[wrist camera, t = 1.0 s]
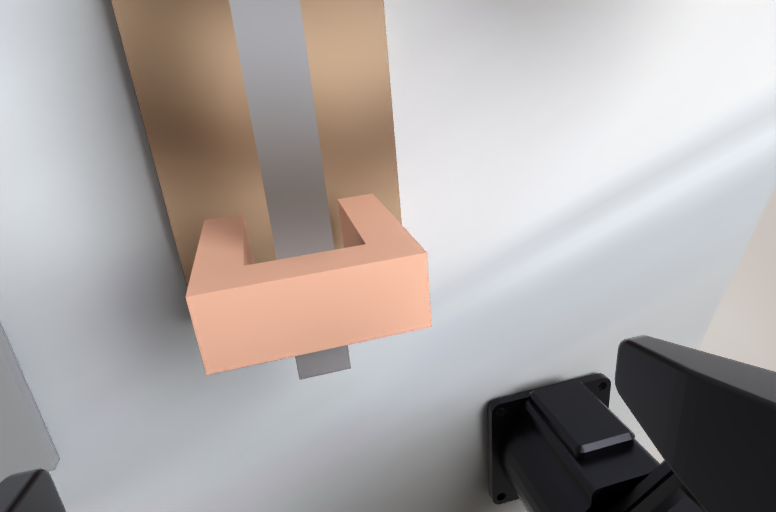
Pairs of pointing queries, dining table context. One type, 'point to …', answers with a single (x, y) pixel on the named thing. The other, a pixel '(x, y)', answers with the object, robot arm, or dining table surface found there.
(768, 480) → the robot arm
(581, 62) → the dining table surface
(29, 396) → the coaster
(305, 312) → the u-shaped block
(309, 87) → the stand
